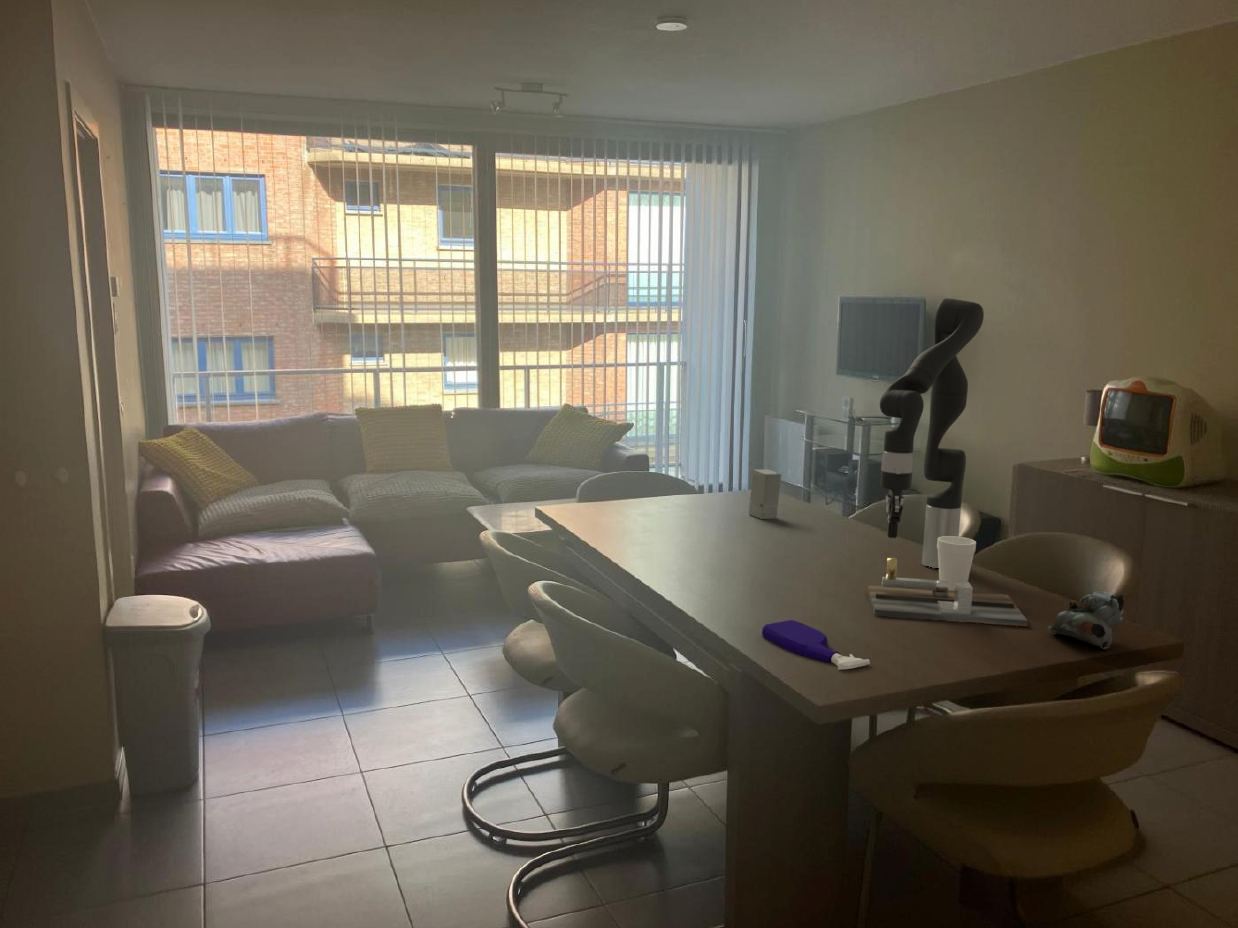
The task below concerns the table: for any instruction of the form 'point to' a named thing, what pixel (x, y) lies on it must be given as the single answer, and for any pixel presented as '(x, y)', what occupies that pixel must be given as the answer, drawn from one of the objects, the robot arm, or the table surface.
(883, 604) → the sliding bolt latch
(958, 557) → the foam cup
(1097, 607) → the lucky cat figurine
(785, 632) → the spray bottle
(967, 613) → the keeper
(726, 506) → the table surface
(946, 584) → the swing bar
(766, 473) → the skincare box
